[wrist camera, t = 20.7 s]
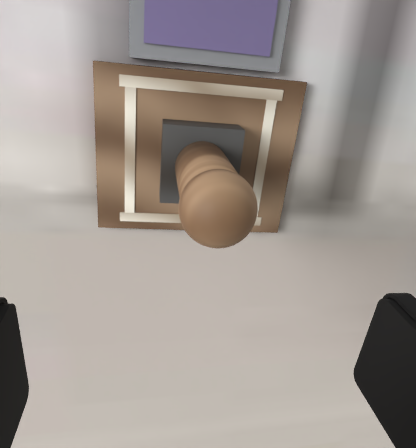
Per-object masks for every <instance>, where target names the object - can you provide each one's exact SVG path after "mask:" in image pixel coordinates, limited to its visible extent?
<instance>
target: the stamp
mask: <svg viewBox="0 0 416 448" xmlns="http://www.w3.org/2000/svg"><path fill="white" fill-rule="evenodd" d="M244 137H245V130H244V129H243V128H242V127H241V126H240V125H238V124H225V123H212V122H199V121H187V120H174V119H163V120H162V143H161V166H160V188H159V197H160V203H175V204H179V218H180V221H181V224H182V226H183V228H184V230H185V231H186V232H187V234H188V235H189V236H190V237H191V238H192V239H193V240H195V241H196V242H198V243H199V244H201V245H204V246H207V247H211V248H225V247H229V246H232V245H235V244H237V243H239V242H240V241H241V240H243V239H244V238H245V237H246V236H247V235H248V234H249V233H250V231H251V230H252V228H253V226H254V224H255V221H256V218H257V212H258V204H257V199H256V195H255V193H254V191H253V189H252V187H251V186H250V184H249V183H248V182H247V181H246V180H245V179H244V178H243V177H242V176H240V175H239V173H240V166H241V159H242V151H243V144H244Z"/></svg>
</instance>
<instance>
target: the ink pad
mask: <svg viewBox="0 0 416 448" xmlns="http://www.w3.org/2000/svg"><path fill="white" fill-rule="evenodd" d="M290 4H291V0H129V57H133V58H143V59H152V60H162V61H171V62H181V63H191V64H200V65H210V66H219V67H229V68H239V69H248V70H258V71H267V72H277V73H279V70H280V64H281V58H282V52H283V46H284V40H285V34H286V28H287V22H288V16H289V10H290Z"/></svg>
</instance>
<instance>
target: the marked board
mask: <svg viewBox="0 0 416 448" xmlns="http://www.w3.org/2000/svg"><path fill="white" fill-rule="evenodd" d="M93 77H94V108H95V139H96V170H97V201H98V227H105V228H139V229H173V230H184V228H183V226H182V224H181V221H180V218H179V204H175V203H160V197H159V188H160V166H161V143H162V120H163V119H174V120H187V121H199V122H212V123H225V124H238V125H240V126H241V127H242V128H243V129H244V130H245V137H244V144H243V151H242V159H241V166H240V173H239V175H240V176H242V177H243V178H244V179H245V180H246V181H247V182H248V183H249V184H250V186H251V187H252V189H253V191H254V193H255V195H256V199H257V204H258V212H257V218H256V221H255V224H254V226H253V228H252V230H251V231H250V232H275V233H277V232H278V227H279V222H280V217H281V212H282V207H283V202H284V197H285V192H286V187H287V182H288V177H289V172H290V167H291V161H292V156H293V151H294V146H295V141H296V136H297V131H298V126H299V121H300V116H301V111H302V106H303V101H304V96H305V91H306V86H307V82H300V81H290V80H280V79H270V78H260V77H250V76H240V75H230V74H221V73H211V72H201V71H191V70H181V69H171V68H161V67H151V66H141V65H131V64H122V63H112V62H102V61H93Z"/></svg>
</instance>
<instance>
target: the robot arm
mask: <svg viewBox="0 0 416 448" xmlns="http://www.w3.org/2000/svg"><path fill="white" fill-rule="evenodd" d="M354 379H355V382H356V384H357V385H358V387H359V389H360V390H361V392H362V394H363V395H364V397H365V399H366V400H367V402H368V403H369V405H370V407H371V408H372V410H373V412H374V413H375V415H376V416H377V418H378V420H379V421H380V423H381V425H382V426H383V428H384V430H385V431H386V433H387V434H388V436H389V438H390V439H391V441H392V443H393V444H394V446H395V448H416V298H415V297H414V296H412V295H411V294H408V293H389V294H386V295H385V296H384V297H383V299H381V300H379V302H378V304H377V307H376V310H375V312H374V315H373V318H372V321H371V323H370V326H369V329H368V332H367V335H366V337H365V340H364V343H363V346H362V349H361V351H360V354H359V357H358V360H357V362H356V365H355V368H354ZM28 392H29V384H28V378H27V372H26V366H25V360H24V354H23V348H22V342H21V336H20V330H19V324H18V318H17V312H16V307H15V305H14V304H8V302H7V300H6V298H3V297H0V448H11V445H12V442H13V439H14V436H15V433H16V431H17V428H18V425H19V422H20V419H21V416H22V413H23V411H24V408H25V405H26V402H27V398H28Z"/></svg>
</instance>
